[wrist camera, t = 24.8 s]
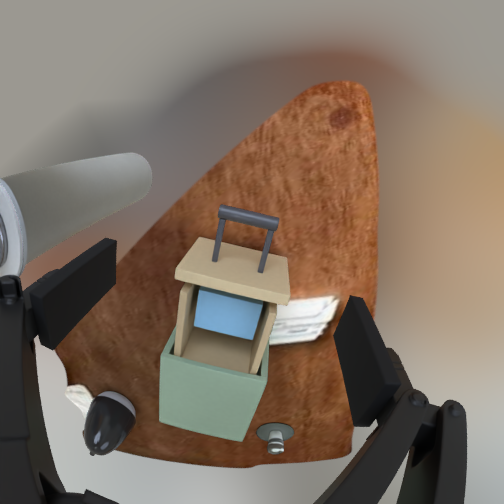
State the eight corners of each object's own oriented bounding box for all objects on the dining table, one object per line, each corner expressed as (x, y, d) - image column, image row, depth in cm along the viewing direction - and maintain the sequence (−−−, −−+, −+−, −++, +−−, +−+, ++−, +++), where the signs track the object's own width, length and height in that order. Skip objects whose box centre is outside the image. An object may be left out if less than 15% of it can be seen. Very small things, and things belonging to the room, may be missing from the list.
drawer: (208, 189, 35) (184, 206, 26) (300, 210, 35) (309, 236, 26) (186, 321, 42) (166, 365, 33) (261, 339, 42) (258, 387, 33)
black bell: (95, 397, 54) (68, 445, 40) (105, 377, 50) (73, 430, 36) (133, 420, 55) (111, 470, 41) (147, 402, 52) (123, 459, 38)
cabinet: (185, 305, 42) (160, 355, 31) (269, 325, 42) (267, 381, 31) (178, 371, 47) (159, 421, 37) (248, 388, 47) (242, 441, 37)
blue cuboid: (205, 298, 39) (193, 326, 33) (211, 265, 37) (199, 289, 31) (256, 310, 39) (252, 340, 33) (265, 278, 37) (262, 305, 31)
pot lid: (235, 427, 52) (232, 446, 48) (285, 409, 49) (285, 430, 44) (269, 450, 55) (268, 468, 51) (315, 435, 52) (317, 453, 47)
